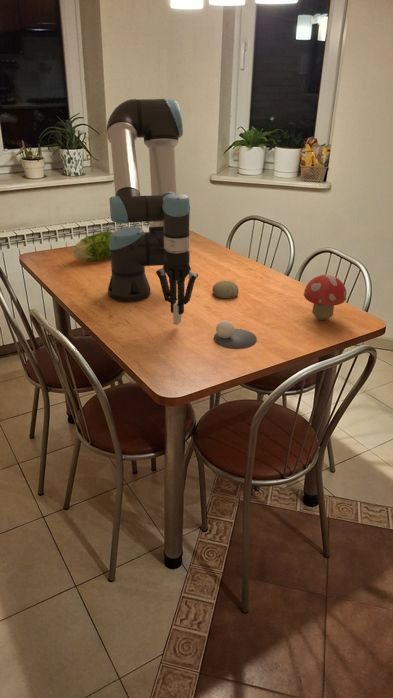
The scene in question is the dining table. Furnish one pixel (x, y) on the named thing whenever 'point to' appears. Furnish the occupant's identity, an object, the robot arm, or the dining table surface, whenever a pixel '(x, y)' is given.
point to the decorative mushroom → (325, 295)
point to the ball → (225, 329)
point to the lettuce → (93, 247)
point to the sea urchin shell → (225, 289)
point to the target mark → (237, 339)
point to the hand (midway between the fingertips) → (177, 322)
